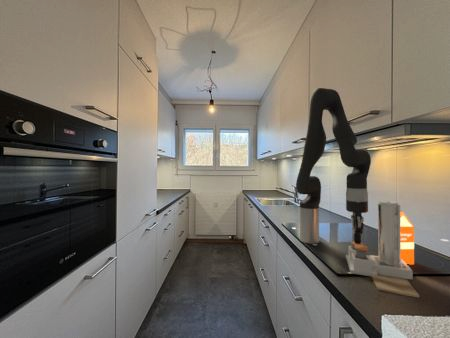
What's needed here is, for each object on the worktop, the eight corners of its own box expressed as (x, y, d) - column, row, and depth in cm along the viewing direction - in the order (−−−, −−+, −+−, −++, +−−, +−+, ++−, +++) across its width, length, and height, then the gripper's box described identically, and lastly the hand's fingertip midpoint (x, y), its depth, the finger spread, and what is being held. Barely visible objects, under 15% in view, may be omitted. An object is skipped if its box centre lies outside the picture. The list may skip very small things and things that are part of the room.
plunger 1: (350, 252, 91) (350, 240, 91) (362, 254, 89) (362, 241, 89) (351, 256, 87) (351, 243, 87) (364, 258, 85) (364, 245, 85)
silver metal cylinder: (379, 272, 79) (379, 202, 79) (377, 265, 85) (376, 200, 85) (402, 276, 76) (402, 203, 76) (398, 268, 82) (398, 201, 82)
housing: (345, 257, 92) (345, 244, 92) (399, 264, 85) (399, 250, 85) (350, 273, 79) (350, 258, 79) (415, 283, 71) (415, 267, 71)
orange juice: (396, 255, 94) (395, 208, 94) (414, 264, 85) (414, 212, 85) (378, 255, 94) (377, 208, 94) (394, 264, 85) (394, 212, 85)
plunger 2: (353, 257, 83) (353, 243, 83) (366, 258, 81) (366, 245, 81) (355, 261, 79) (355, 247, 79) (369, 263, 77) (369, 249, 77)
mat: (370, 275, 77) (370, 273, 77) (406, 281, 73) (406, 279, 73) (378, 290, 67) (378, 288, 67) (419, 297, 64) (419, 295, 64)
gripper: (344, 197, 96) (344, 237, 96) (348, 201, 83) (348, 247, 83) (364, 197, 93) (365, 239, 93) (371, 202, 80) (372, 249, 80)
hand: (357, 243), depth 88 cm, fingers closed
